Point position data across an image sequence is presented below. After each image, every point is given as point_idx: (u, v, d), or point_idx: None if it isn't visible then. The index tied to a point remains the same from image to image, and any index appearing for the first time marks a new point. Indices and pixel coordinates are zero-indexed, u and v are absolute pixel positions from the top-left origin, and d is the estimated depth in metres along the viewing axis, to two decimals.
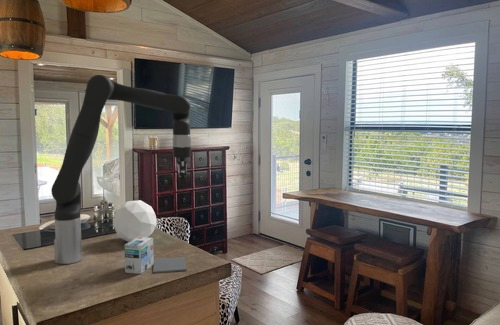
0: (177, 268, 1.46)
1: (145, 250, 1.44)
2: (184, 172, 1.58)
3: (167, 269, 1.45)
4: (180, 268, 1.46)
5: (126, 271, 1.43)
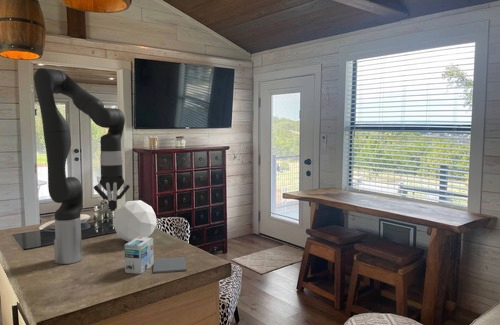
0: (177, 268, 1.46)
1: (145, 250, 1.44)
2: None
3: (167, 269, 1.45)
4: (180, 268, 1.46)
5: (126, 271, 1.43)
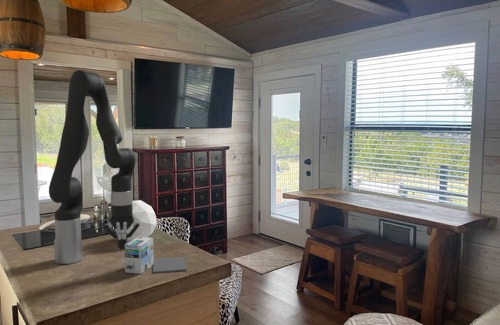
0: (177, 268, 1.46)
1: (145, 250, 1.44)
2: None
3: (167, 269, 1.45)
4: (180, 268, 1.46)
5: (126, 271, 1.43)
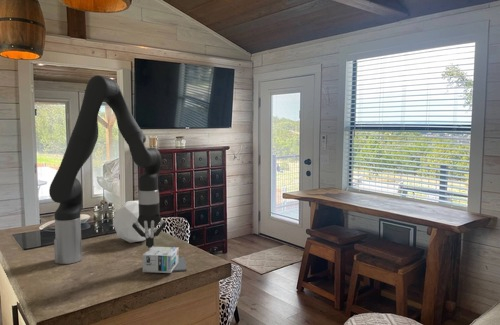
0: (177, 268, 1.46)
1: None
2: None
3: None
4: (180, 268, 1.46)
5: (143, 256, 1.41)
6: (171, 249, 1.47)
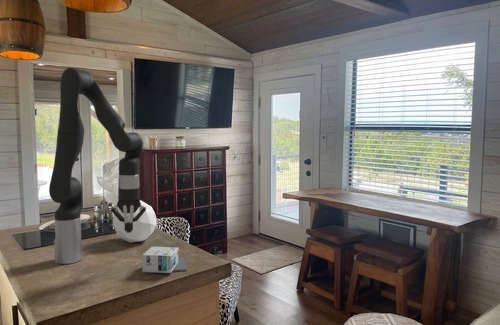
0: (177, 268, 1.46)
1: None
2: None
3: None
4: (180, 268, 1.46)
5: (143, 256, 1.41)
6: (171, 249, 1.47)
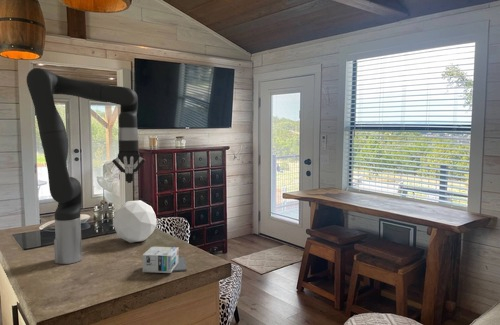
0: (177, 268, 1.46)
1: None
2: None
3: None
4: (180, 268, 1.46)
5: (143, 256, 1.41)
6: (171, 249, 1.47)
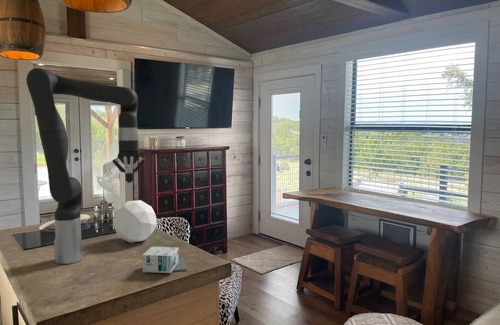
0: (177, 268, 1.46)
1: None
2: None
3: None
4: (180, 268, 1.46)
5: (143, 256, 1.41)
6: (171, 249, 1.47)
